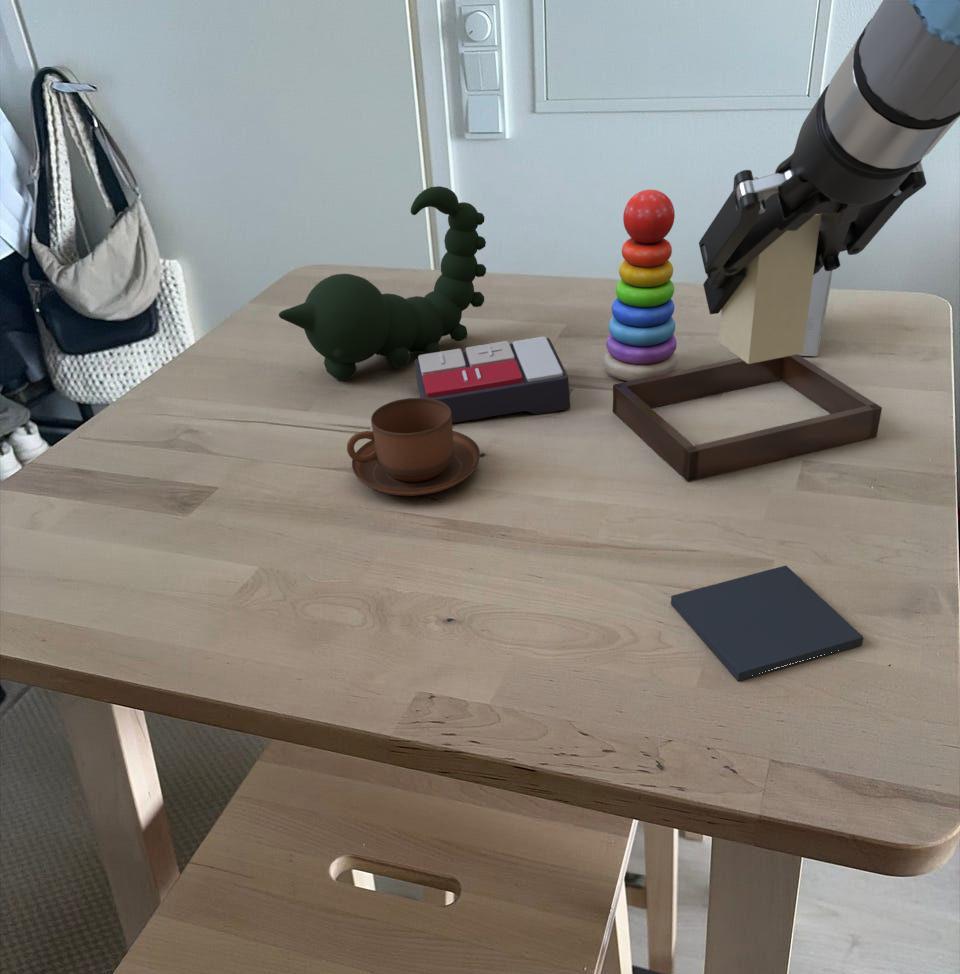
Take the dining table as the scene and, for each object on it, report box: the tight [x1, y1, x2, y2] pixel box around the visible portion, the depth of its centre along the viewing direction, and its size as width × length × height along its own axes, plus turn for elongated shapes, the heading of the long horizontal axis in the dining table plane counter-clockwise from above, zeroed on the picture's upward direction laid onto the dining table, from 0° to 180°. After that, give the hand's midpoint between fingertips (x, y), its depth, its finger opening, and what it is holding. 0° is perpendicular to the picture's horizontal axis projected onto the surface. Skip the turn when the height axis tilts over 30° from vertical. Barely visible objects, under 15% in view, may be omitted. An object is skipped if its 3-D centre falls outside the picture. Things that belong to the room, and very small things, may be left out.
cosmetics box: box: [798, 266, 833, 357], centre depth 114 cm, size 10×6×10 cm, turn 165°
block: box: [718, 214, 821, 364], centre depth 82 cm, size 5×5×11 cm
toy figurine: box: [278, 185, 487, 381], centre depth 113 cm, size 9×19×25 cm
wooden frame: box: [612, 354, 883, 483], centre depth 100 cm, size 20×16×3 cm
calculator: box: [413, 336, 571, 424], centre depth 109 cm, size 11×4×15 cm
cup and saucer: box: [346, 397, 481, 497], centre depth 95 cm, size 12×12×6 cm
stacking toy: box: [603, 189, 678, 382], centre depth 107 cm, size 8×8×19 cm
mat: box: [670, 565, 864, 682], centre depth 76 cm, size 10×10×1 cm
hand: (745, 293), depth 86 cm, fingers closed on block, 5 cm apart
